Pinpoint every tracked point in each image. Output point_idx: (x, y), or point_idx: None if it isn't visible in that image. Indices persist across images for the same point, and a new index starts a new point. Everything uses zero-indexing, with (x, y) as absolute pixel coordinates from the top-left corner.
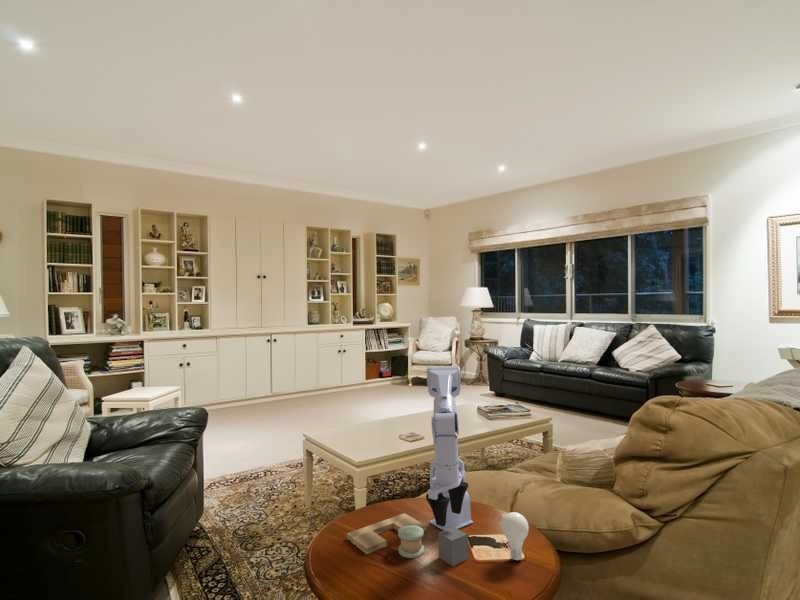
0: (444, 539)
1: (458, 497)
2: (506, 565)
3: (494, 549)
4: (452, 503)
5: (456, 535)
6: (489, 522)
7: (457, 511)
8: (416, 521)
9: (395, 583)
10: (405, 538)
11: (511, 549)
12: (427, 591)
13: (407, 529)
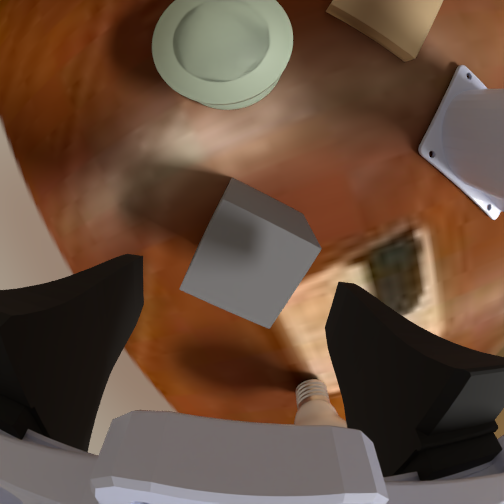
0: (202, 239)
1: (355, 401)
2: (273, 373)
3: None
4: (357, 318)
5: (236, 292)
6: (497, 263)
7: (331, 324)
8: (426, 16)
9: (41, 126)
10: (153, 48)
11: (301, 403)
12: (54, 227)
13: (232, 16)
